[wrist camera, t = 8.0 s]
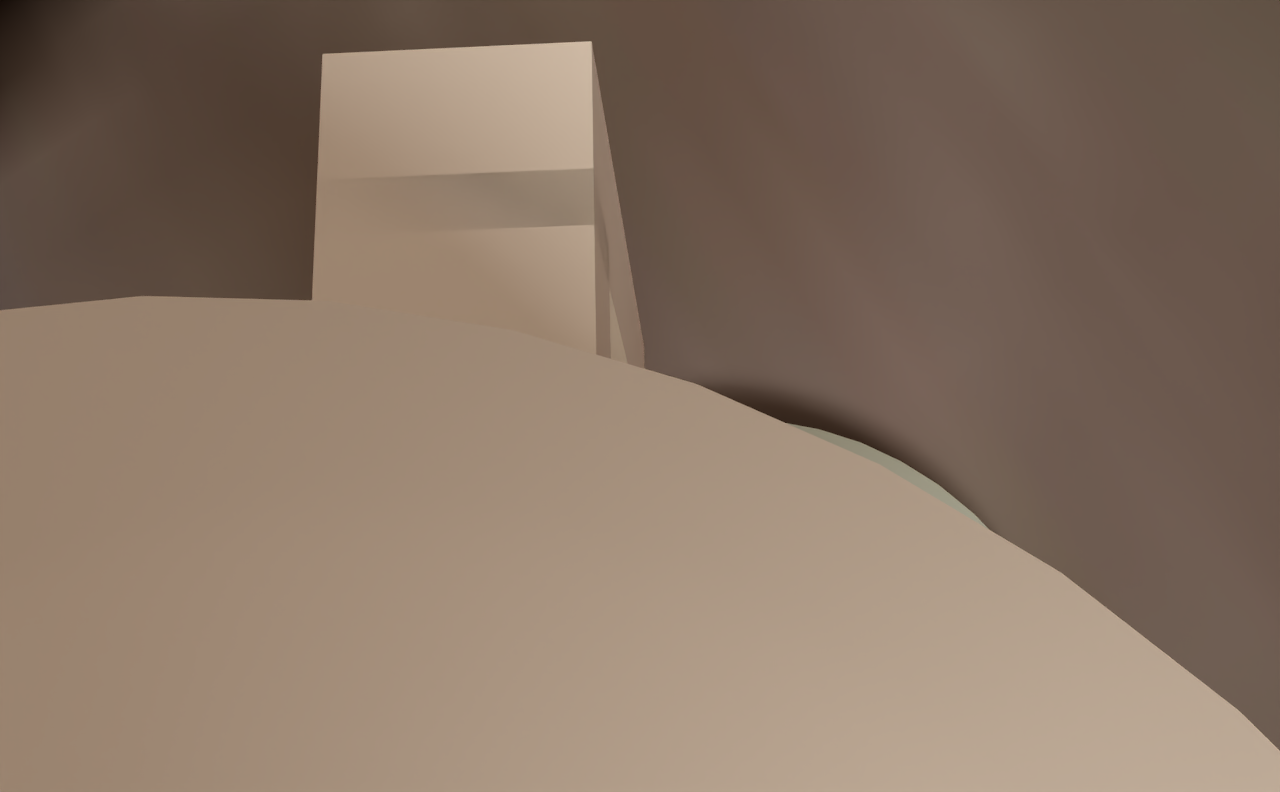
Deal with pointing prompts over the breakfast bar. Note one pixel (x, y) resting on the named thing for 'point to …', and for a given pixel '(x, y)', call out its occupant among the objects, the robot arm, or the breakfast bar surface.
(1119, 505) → the breakfast bar surface
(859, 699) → the jug
